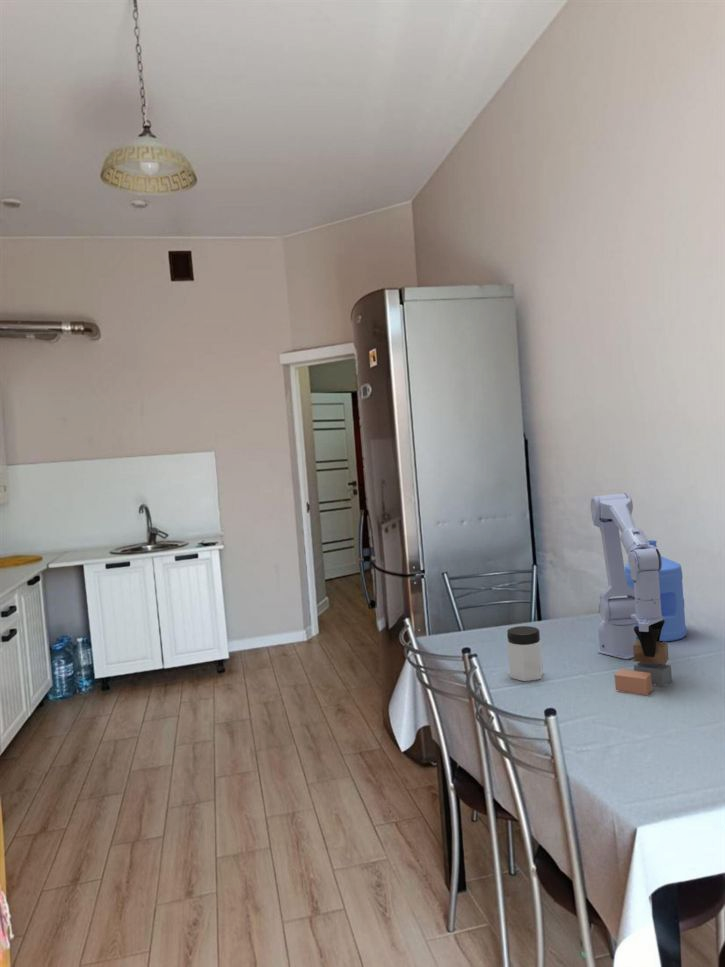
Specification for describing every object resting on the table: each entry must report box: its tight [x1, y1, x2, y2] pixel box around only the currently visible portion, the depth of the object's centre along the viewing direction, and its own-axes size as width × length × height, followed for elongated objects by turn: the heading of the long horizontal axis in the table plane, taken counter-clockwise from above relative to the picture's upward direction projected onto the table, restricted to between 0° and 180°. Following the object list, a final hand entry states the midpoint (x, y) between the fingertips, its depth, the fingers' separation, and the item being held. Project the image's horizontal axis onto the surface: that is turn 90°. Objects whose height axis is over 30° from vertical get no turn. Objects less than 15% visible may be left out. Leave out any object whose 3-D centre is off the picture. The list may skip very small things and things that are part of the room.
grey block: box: [633, 662, 673, 687], centre depth 160 cm, size 7×4×4 cm, turn 40°
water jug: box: [624, 539, 687, 642], centre depth 195 cm, size 16×16×28 cm
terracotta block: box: [614, 668, 653, 696], centre depth 156 cm, size 7×4×4 cm, turn 52°
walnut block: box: [633, 639, 670, 665], centre depth 160 cm, size 7×4×4 cm, turn 57°
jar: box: [506, 625, 544, 682], centre depth 171 cm, size 9×8×12 cm
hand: (651, 653), depth 160 cm, fingers closed on walnut block, 4 cm apart
